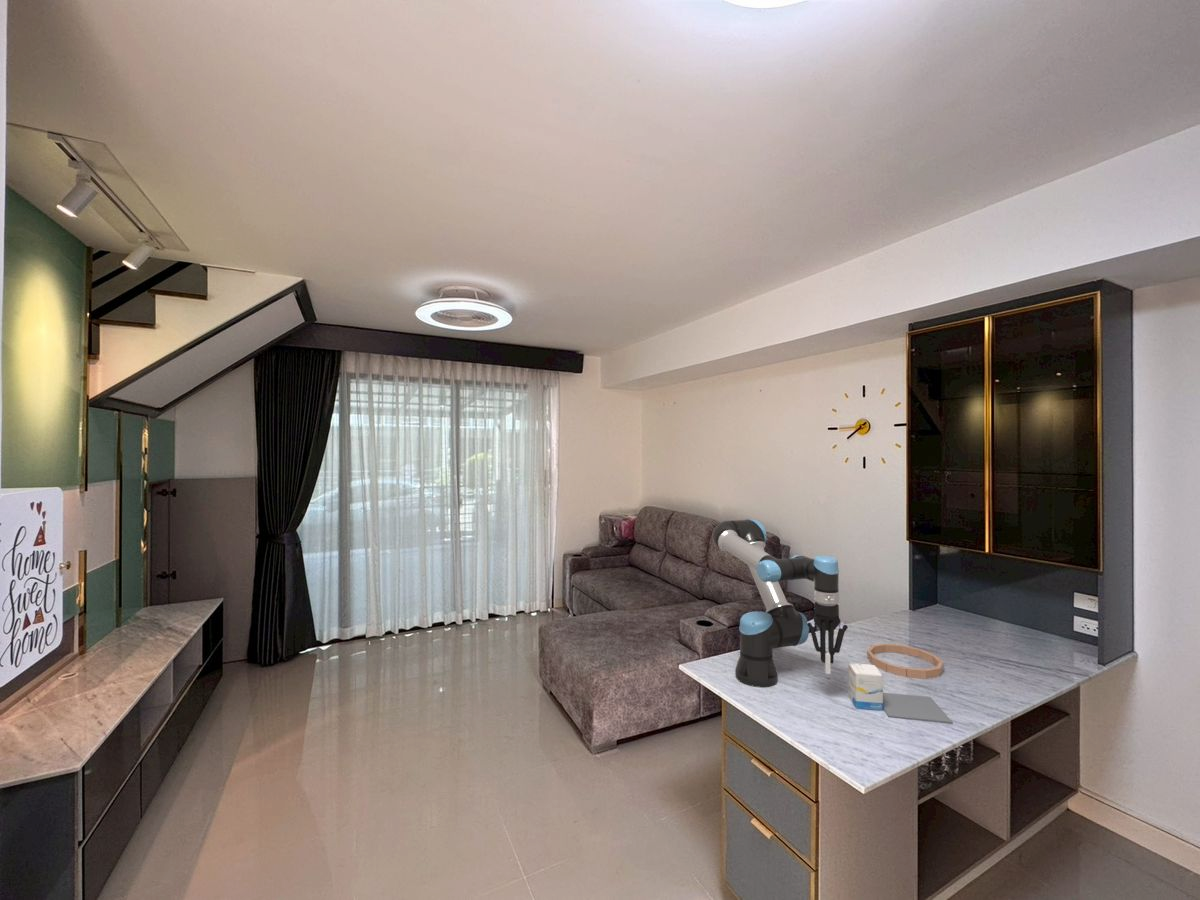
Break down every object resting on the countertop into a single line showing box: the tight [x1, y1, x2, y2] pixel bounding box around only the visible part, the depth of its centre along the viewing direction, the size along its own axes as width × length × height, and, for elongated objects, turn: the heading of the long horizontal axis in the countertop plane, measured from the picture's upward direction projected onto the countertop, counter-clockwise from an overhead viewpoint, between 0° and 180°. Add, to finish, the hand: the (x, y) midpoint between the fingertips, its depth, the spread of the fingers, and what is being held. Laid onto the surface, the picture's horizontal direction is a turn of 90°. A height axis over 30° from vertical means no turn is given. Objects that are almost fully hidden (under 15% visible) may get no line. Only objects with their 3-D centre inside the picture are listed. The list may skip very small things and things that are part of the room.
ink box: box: [848, 662, 884, 711], centre depth 166 cm, size 9×8×12 cm
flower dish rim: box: [866, 643, 944, 680], centre depth 196 cm, size 25×25×3 cm
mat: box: [883, 692, 954, 725], centre depth 163 cm, size 18×16×1 cm
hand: (827, 672), depth 168 cm, fingers closed
